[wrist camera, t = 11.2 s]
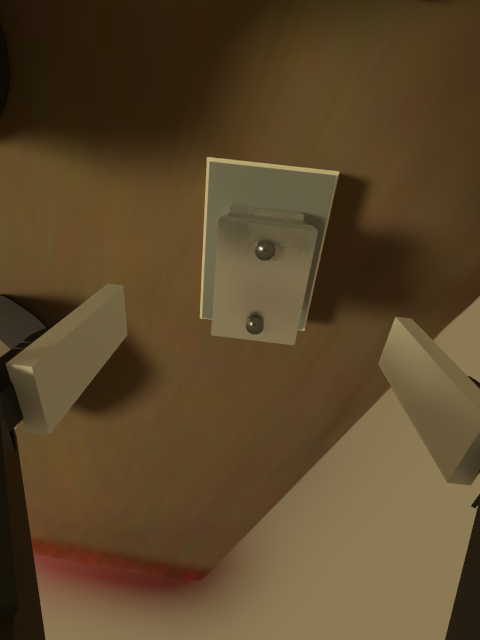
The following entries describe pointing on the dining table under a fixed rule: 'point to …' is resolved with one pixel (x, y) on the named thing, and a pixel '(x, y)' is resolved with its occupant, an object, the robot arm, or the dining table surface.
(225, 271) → the housing
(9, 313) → the bowl
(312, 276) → the plinth
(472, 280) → the dining table surface
